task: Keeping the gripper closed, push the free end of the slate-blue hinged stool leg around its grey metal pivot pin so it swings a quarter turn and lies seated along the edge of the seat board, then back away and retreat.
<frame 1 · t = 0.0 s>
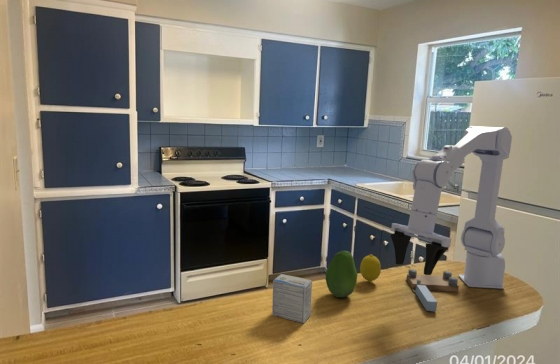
hand: (412, 269, 94), 11 cm above the counter, tool pointing down, fingers open, 7 cm apart
medicine box: (291, 316, 91), on the counter
hinged leg: (425, 296, 100), point 2 cm above the counter, hinge at 0.0°
seat board: (431, 285, 111), on the counter
pivot pin: (417, 291, 106), on the counter
avocado: (339, 296, 102), on the counter
lemon: (369, 282, 112), on the counter
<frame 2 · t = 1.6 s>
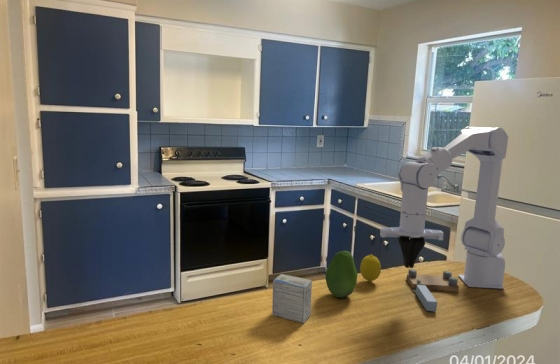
hand: (408, 266, 98), 9 cm above the counter, tool pointing down, fingers closed
nothing on the counter moved.
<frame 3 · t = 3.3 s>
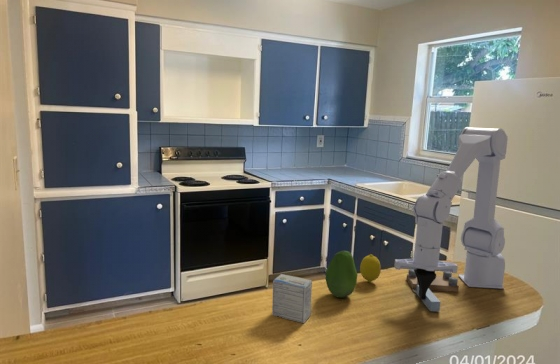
hand: (422, 298, 99), 1 cm above the counter, tool pointing down, fingers closed, pressing on hinged leg
hinged leg: (427, 296, 100), point 2 cm above the counter, hinge at 4.1°, touching gripper
everything else where it was.
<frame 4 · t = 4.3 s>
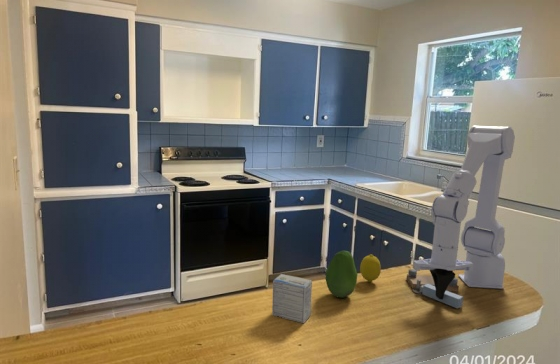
hand: (439, 297, 99), 2 cm above the counter, tool pointing down, fingers closed, pressing on hinged leg
hinged leg: (440, 294, 101), point 2 cm above the counter, hinge at 41.8°, touching gripper
everything else where it was.
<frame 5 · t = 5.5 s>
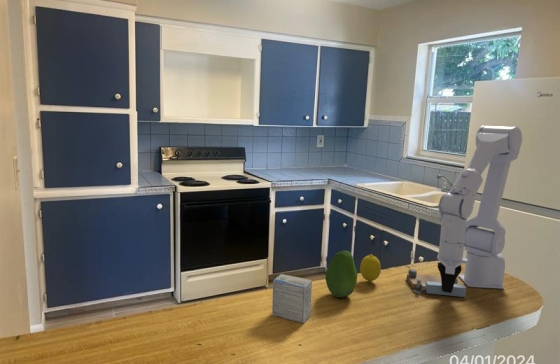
hand: (446, 291, 103), 2 cm above the counter, tool pointing down, fingers closed, pressing on hinged leg
hinged leg: (443, 288, 105), point 2 cm above the counter, hinge at 83.6°, touching gripper
everything else where it was.
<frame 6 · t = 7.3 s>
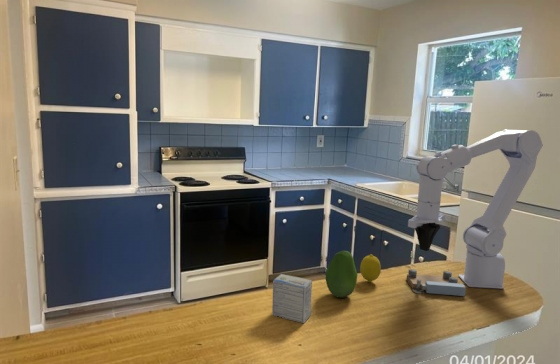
hand: (424, 249, 110), 10 cm above the counter, tool pointing down, fingers closed
hinged leg: (442, 288, 106), point 2 cm above the counter, hinge at 86.4°
everything else where it was.
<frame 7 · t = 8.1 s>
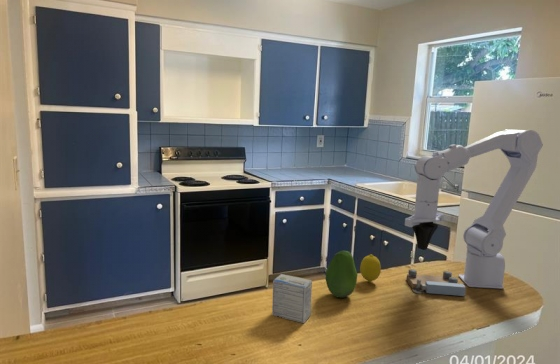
hand: (422, 248, 111), 10 cm above the counter, tool pointing down, fingers closed
nothing on the counter moved.
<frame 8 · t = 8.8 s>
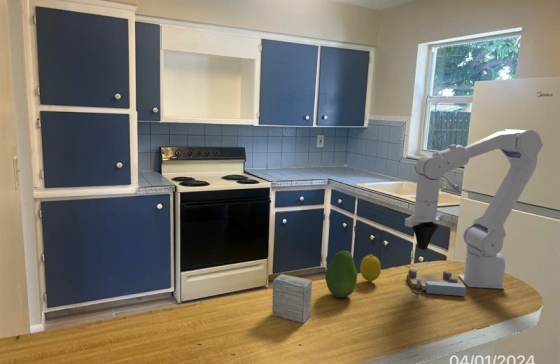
hand: (422, 248, 111), 10 cm above the counter, tool pointing down, fingers closed
nothing on the counter moved.
at the end: hinged leg at +86° (first picture: +0°); the gripper is holding nothing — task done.
